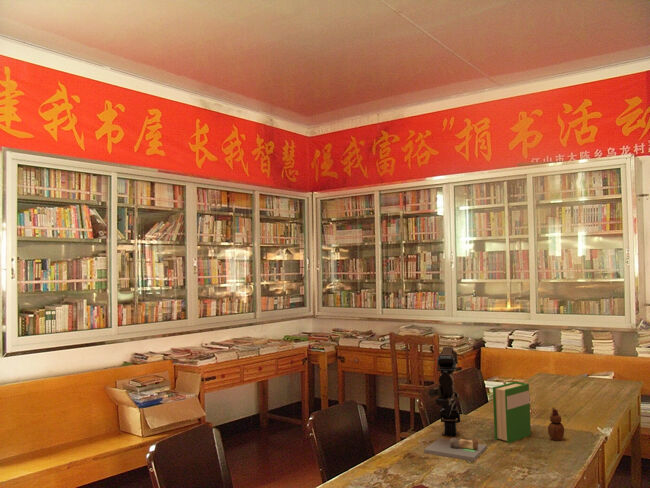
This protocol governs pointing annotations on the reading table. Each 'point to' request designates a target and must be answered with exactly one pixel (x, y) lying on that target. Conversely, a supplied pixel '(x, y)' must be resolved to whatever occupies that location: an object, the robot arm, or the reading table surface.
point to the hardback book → (511, 411)
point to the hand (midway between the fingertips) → (448, 416)
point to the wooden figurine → (555, 426)
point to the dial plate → (454, 450)
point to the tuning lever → (464, 443)
